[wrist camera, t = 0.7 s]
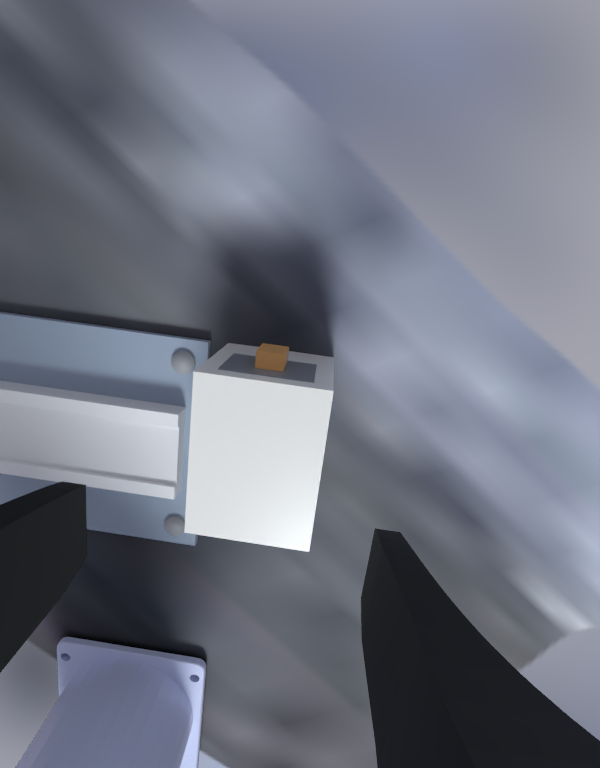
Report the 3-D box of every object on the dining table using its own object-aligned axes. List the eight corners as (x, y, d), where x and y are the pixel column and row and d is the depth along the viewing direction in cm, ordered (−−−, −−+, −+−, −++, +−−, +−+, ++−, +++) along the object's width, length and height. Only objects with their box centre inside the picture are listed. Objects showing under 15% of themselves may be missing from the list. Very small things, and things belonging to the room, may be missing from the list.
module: (314, 482, 20) (309, 552, 16) (219, 468, 20) (184, 532, 16) (335, 341, 18) (336, 371, 14) (230, 327, 19) (194, 351, 14)
